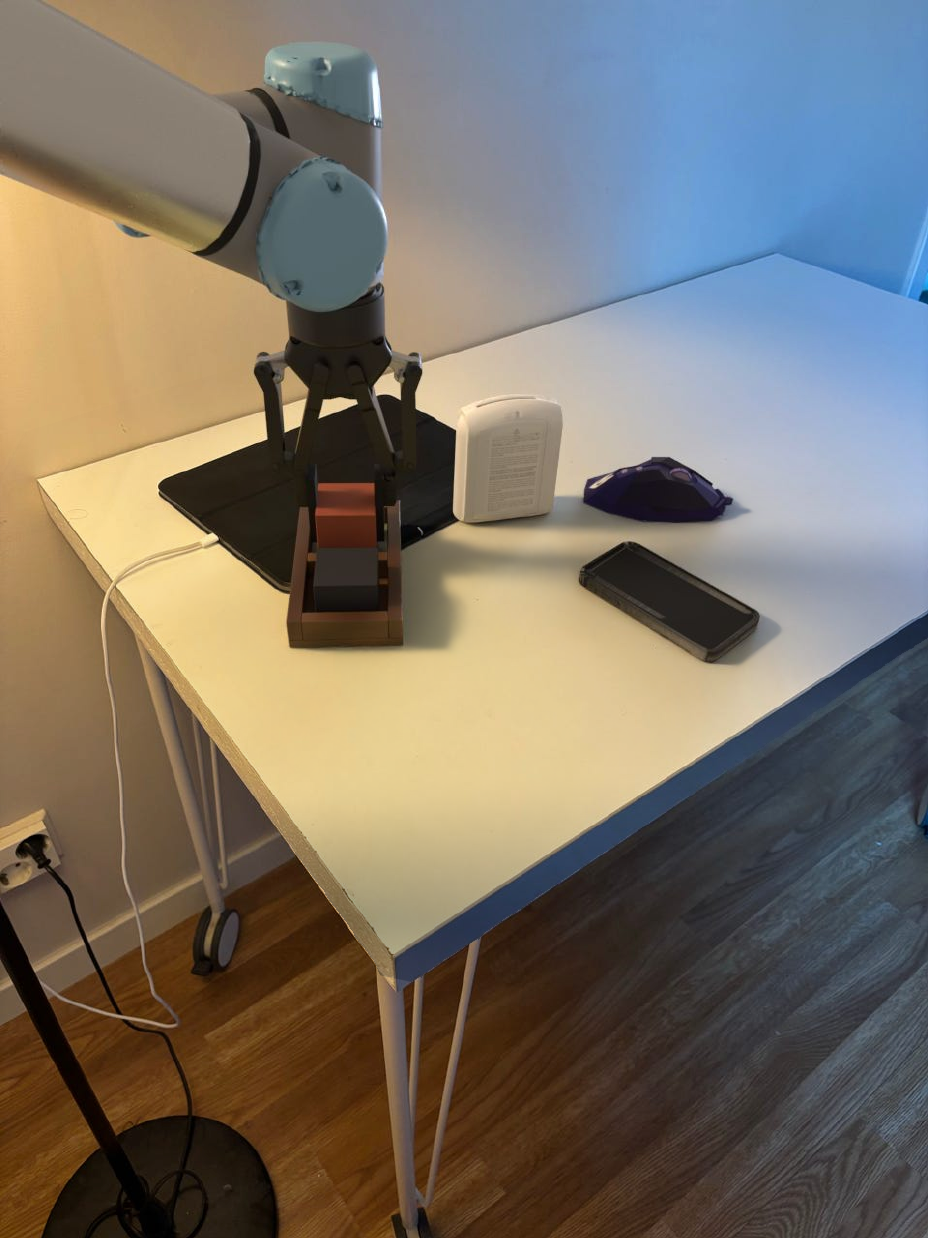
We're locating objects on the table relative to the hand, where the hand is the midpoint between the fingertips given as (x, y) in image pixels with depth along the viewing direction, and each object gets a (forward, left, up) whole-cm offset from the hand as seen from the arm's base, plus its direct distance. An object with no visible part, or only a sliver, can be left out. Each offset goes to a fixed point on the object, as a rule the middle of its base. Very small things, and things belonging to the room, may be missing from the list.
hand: (348, 532), depth 87 cm
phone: (+28, -8, -2) cm, 29 cm away
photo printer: (+15, +7, -3) cm, 17 cm away
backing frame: (0, -4, -2) cm, 5 cm away
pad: (0, 0, 0) cm, 0 cm away
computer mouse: (+31, +9, -3) cm, 32 cm away
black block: (0, -8, -2) cm, 8 cm away
